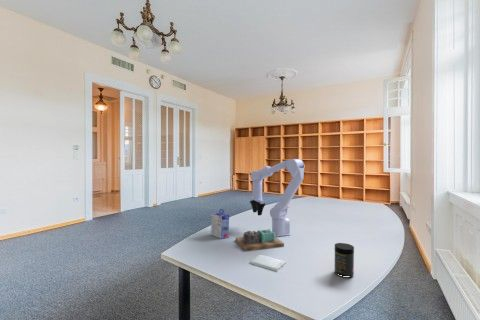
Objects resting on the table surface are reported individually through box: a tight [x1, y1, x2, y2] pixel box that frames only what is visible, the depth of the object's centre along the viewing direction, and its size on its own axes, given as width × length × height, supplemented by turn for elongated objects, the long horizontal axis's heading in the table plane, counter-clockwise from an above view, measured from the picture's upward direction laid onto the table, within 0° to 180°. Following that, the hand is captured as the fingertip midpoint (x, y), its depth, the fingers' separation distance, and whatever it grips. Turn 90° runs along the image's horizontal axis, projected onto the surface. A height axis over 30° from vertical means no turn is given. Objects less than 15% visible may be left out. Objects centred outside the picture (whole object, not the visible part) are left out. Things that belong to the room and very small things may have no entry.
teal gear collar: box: [256, 228, 275, 243], centre depth 123 cm, size 7×7×4 cm
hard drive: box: [249, 254, 287, 272], centre depth 99 cm, size 2×8×12 cm
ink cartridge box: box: [210, 208, 230, 240], centre depth 133 cm, size 10×6×14 cm, turn 41°
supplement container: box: [333, 242, 355, 277], centre depth 91 cm, size 7×7×10 cm
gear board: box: [235, 229, 285, 252], centre depth 122 cm, size 20×15×6 cm
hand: (257, 213), depth 145 cm, fingers open, 7 cm apart
